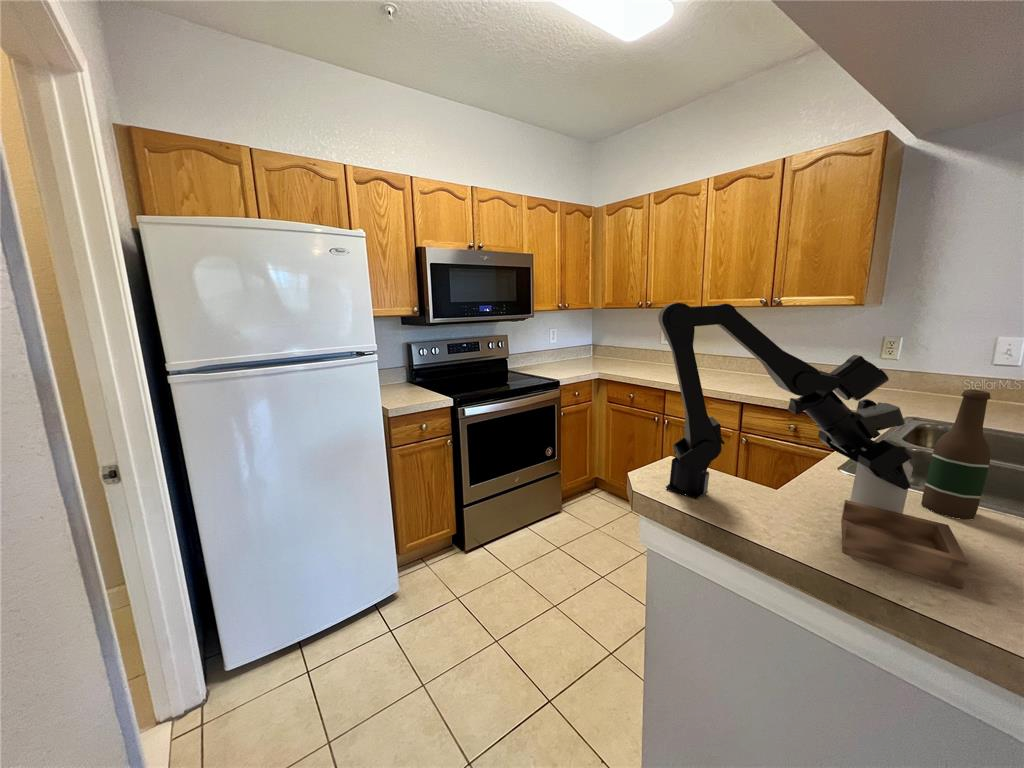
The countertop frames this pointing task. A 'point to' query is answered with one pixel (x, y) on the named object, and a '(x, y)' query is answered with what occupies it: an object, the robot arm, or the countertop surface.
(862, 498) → the can
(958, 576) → the brown wooden square tray
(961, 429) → the beer bottle
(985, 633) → the countertop surface
